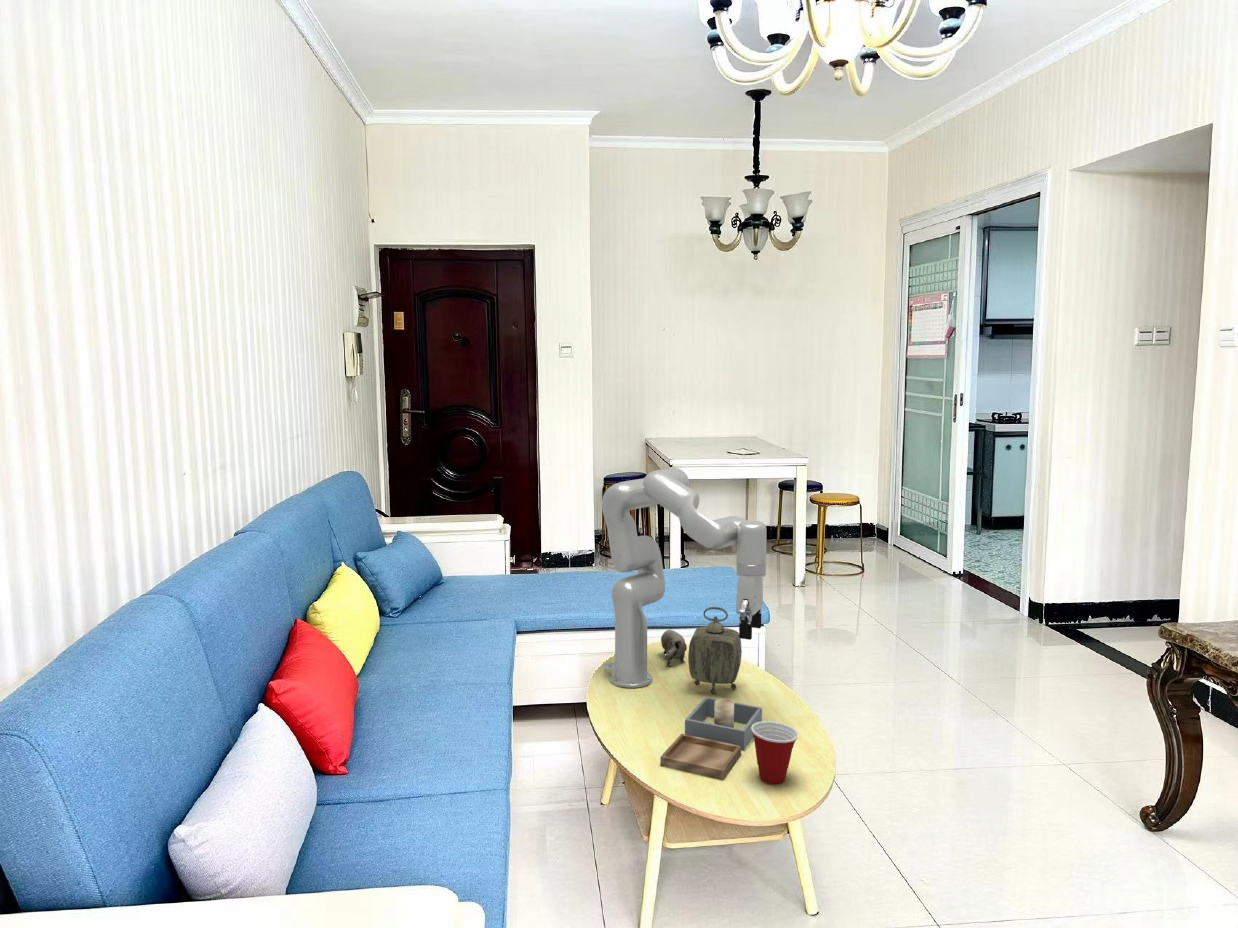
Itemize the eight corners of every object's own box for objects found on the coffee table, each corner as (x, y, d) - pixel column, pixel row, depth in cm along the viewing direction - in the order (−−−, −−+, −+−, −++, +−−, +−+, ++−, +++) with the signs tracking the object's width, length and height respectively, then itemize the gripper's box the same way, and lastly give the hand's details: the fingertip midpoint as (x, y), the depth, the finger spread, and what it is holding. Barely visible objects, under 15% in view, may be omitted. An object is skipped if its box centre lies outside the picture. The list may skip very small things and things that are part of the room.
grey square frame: (684, 738, 217) (684, 719, 216) (705, 714, 231) (705, 697, 230) (744, 750, 210) (744, 731, 210) (761, 725, 224) (762, 707, 224)
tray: (660, 765, 203) (660, 756, 202) (681, 742, 215) (681, 733, 214) (723, 780, 196) (723, 770, 196) (741, 754, 208) (741, 746, 208)
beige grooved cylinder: (711, 734, 219) (711, 704, 218) (717, 726, 224) (718, 697, 223) (730, 737, 217) (730, 707, 216) (736, 730, 222) (736, 700, 221)
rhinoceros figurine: (685, 642, 280) (683, 615, 269) (689, 679, 270) (688, 652, 259) (661, 644, 280) (659, 617, 270) (664, 681, 270) (662, 654, 260)
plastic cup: (806, 786, 193) (807, 736, 192) (762, 793, 190) (763, 742, 188) (783, 764, 203) (785, 716, 202) (742, 770, 200) (743, 722, 199)
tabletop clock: (740, 687, 249) (742, 604, 246) (737, 700, 241) (739, 614, 237) (691, 682, 253) (692, 601, 249) (686, 694, 244) (687, 610, 241)
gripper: (745, 560, 230) (744, 621, 232) (727, 575, 214) (727, 641, 217) (773, 562, 227) (772, 625, 229) (757, 578, 211) (756, 645, 214)
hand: (750, 632), depth 223 cm, fingers open, 9 cm apart
